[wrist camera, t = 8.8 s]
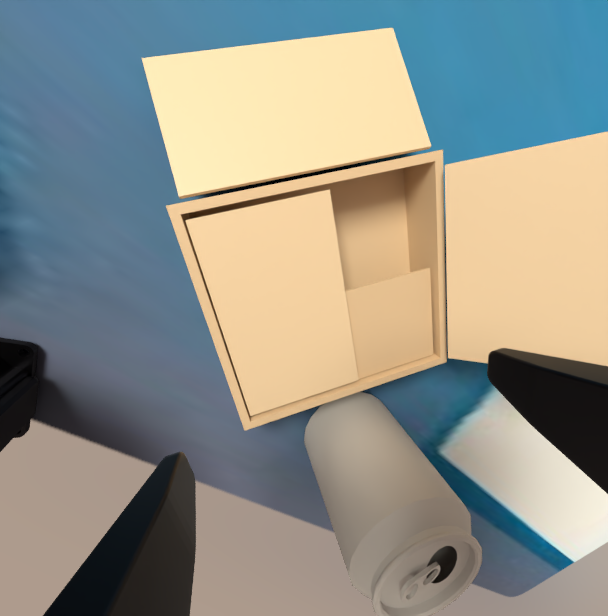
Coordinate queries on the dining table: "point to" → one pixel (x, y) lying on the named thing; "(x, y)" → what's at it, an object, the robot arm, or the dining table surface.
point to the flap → (529, 252)
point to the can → (390, 509)
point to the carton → (306, 215)
